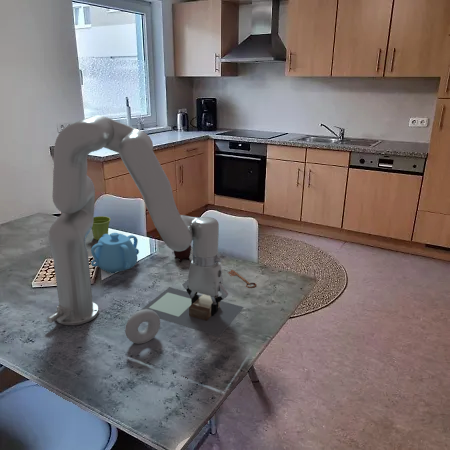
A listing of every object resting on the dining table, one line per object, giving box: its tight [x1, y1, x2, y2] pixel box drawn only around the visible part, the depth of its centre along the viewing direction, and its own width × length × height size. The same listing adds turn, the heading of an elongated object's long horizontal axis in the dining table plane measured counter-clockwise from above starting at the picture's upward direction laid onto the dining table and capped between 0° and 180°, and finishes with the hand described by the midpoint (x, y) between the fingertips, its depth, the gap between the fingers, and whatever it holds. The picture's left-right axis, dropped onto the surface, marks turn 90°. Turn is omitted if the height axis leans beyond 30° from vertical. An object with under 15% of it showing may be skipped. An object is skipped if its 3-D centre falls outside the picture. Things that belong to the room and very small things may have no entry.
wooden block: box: [189, 294, 220, 321], centre depth 127 cm, size 9×6×3 cm
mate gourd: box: [173, 245, 192, 263], centre depth 163 cm, size 8×8×15 cm
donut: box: [124, 308, 161, 345], centre depth 112 cm, size 10×3×10 cm, turn 125°
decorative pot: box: [90, 232, 140, 275], centre depth 154 cm, size 16×16×14 cm
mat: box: [140, 286, 245, 338], centre depth 129 cm, size 18×28×1 cm, turn 65°
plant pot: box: [91, 215, 111, 241], centre depth 182 cm, size 9×9×9 cm
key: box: [227, 269, 257, 289], centre depth 150 cm, size 6×1×15 cm
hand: (204, 310), depth 128 cm, fingers closed on wooden block, 6 cm apart
